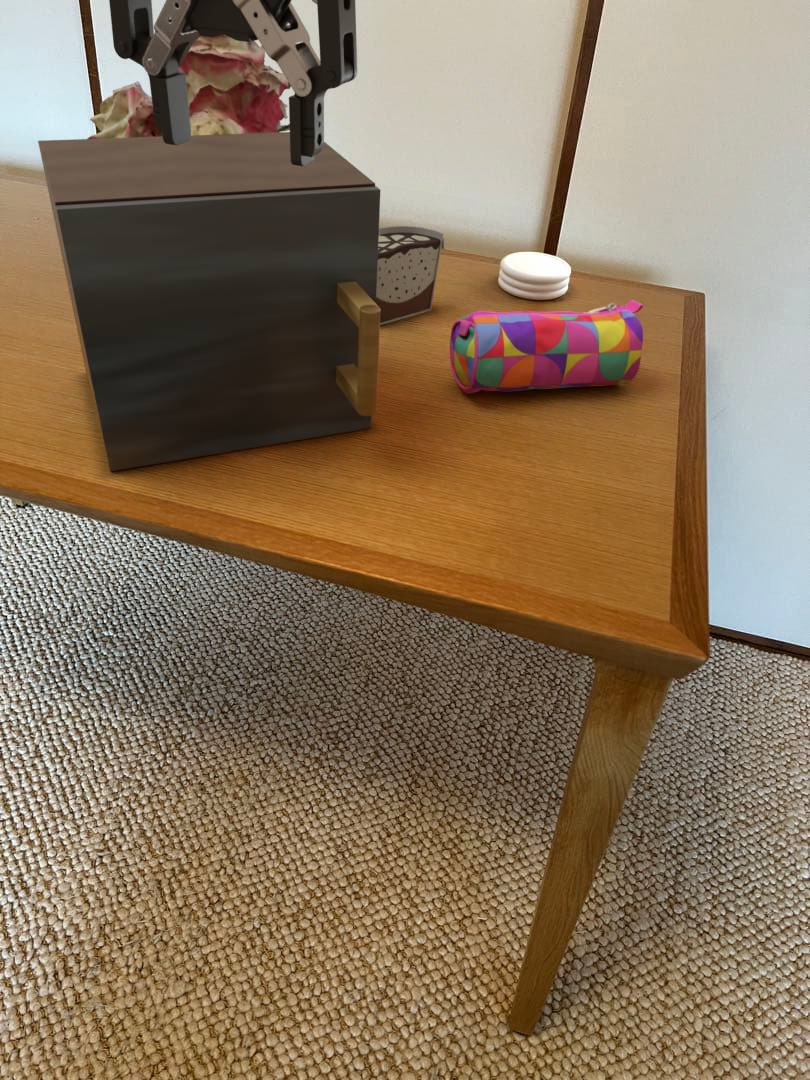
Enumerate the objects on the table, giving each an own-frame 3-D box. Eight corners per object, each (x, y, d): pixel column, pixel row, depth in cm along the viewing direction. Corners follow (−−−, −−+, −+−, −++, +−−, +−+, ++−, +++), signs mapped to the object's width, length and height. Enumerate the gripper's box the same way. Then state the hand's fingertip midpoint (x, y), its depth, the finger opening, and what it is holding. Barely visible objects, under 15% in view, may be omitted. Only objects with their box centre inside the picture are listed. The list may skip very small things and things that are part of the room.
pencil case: (604, 356, 101) (620, 286, 95) (642, 393, 94) (663, 319, 88) (439, 372, 95) (446, 298, 89) (467, 412, 88) (477, 335, 82)
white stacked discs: (533, 307, 111) (537, 282, 109) (483, 282, 117) (486, 258, 115) (581, 292, 117) (586, 268, 114) (531, 269, 122) (535, 245, 120)
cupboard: (366, 423, 85) (375, 183, 70) (108, 465, 76) (54, 202, 61) (314, 348, 98) (311, 131, 83) (87, 377, 89) (37, 140, 74)
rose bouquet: (96, 238, 121) (53, -2, 102) (283, 221, 132) (276, 1, 113) (128, 306, 104) (83, 32, 85) (341, 281, 114) (344, 32, 95)
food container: (410, 292, 113) (415, 218, 106) (439, 308, 109) (446, 232, 103) (338, 311, 106) (338, 234, 100) (366, 329, 103) (369, 250, 96)
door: (396, 463, 79) (412, 215, 64) (120, 514, 71) (65, 241, 56) (367, 423, 85) (376, 186, 70) (108, 465, 76) (55, 205, 61)
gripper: (42, -221, 38) (103, 150, 49) (322, -204, 35) (323, 186, 46) (132, -205, 44) (169, 124, 54) (380, -190, 41) (370, 155, 51)
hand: (240, 152), depth 50 cm, fingers open, 8 cm apart
